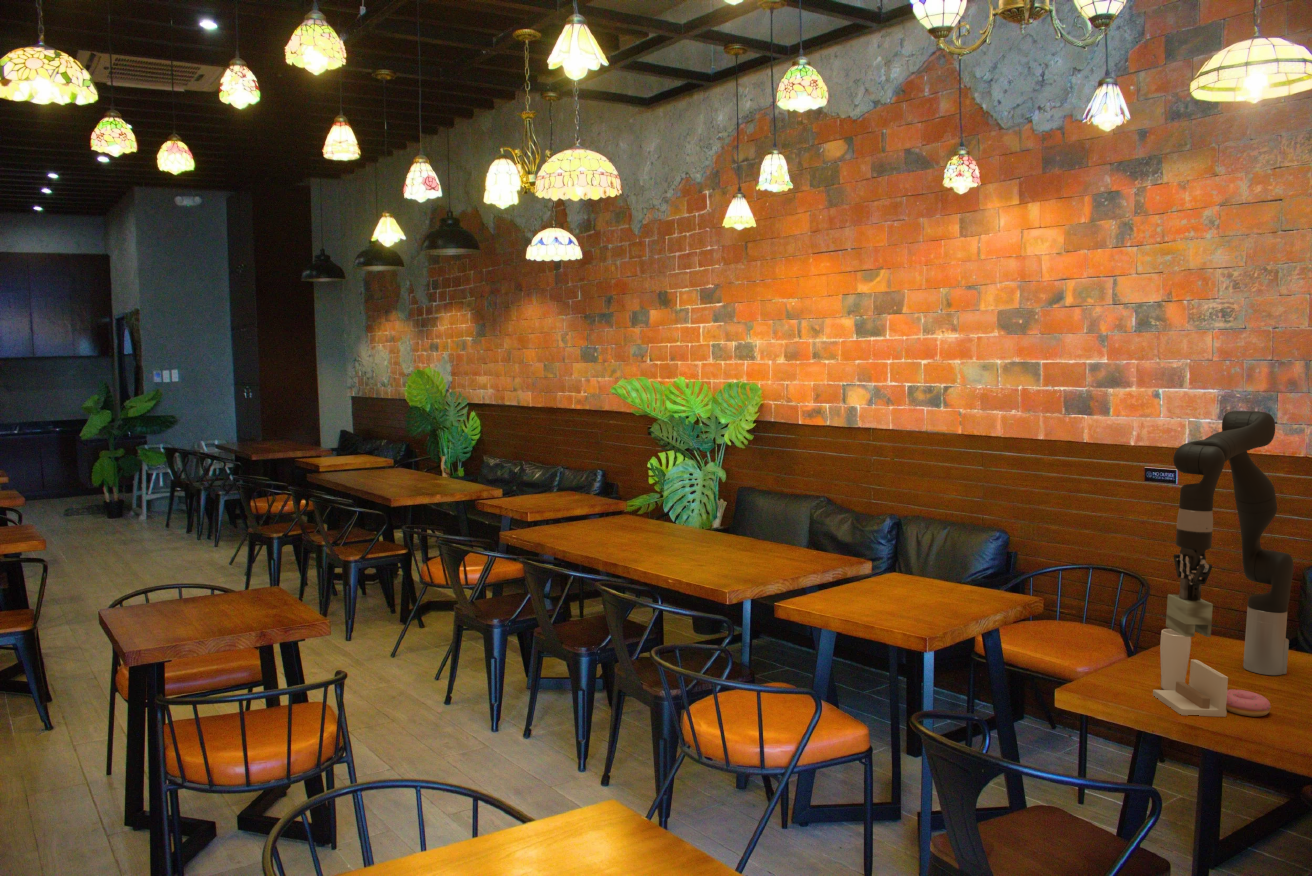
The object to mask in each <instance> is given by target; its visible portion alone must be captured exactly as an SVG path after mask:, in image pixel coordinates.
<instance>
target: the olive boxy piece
mask: <svg viewBox="0 0 1312 876" xmlns="http://www.w3.org/2000/svg"><path fill="white" fill-rule="evenodd" d="M1188 579H1189V578H1180V583H1179V594H1167V598H1166V599H1167V600H1166V617H1165V627H1166V628H1167V629H1172V630H1174V631H1176V632H1177V633H1179V634H1181V635H1183V636H1185V637H1191V638H1192V637H1193V638H1195V633H1198V634H1200V635H1202V636H1204V637H1206V638H1212V636H1211V635H1212V622H1213V606H1214V604H1213V603H1211V602H1209V601H1206V600H1205V599H1203V598H1202V597H1201V596H1202V595H1201V594H1202V585H1199V594H1198V600H1197V601H1190V600H1188V585H1189V583H1188Z"/></svg>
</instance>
